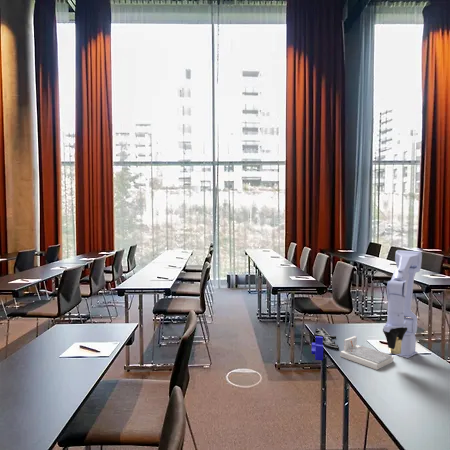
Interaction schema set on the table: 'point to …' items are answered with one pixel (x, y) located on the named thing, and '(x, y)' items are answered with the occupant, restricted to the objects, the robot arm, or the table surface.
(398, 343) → the brass weight
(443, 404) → the table surface
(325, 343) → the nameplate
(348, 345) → the scale base
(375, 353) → the pan
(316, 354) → the blue stepped block
